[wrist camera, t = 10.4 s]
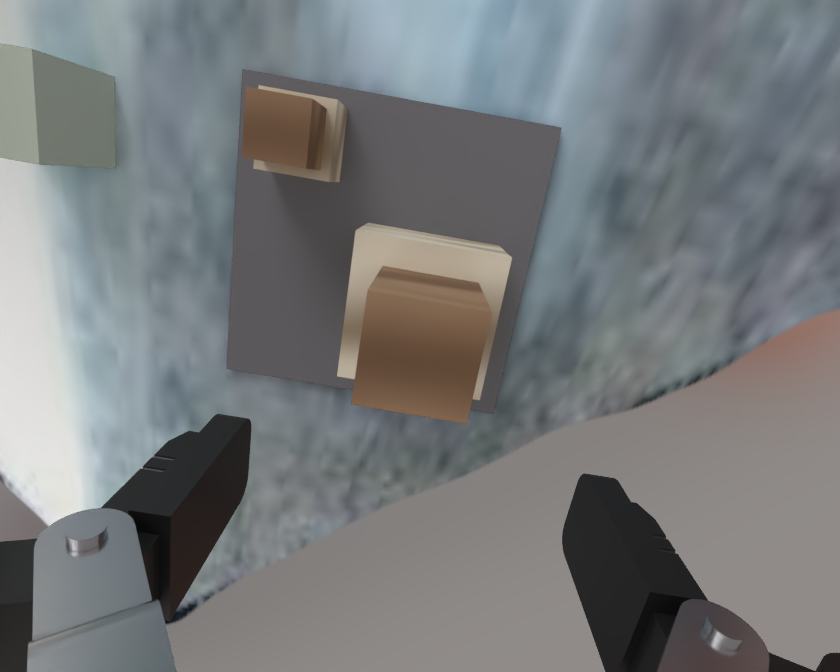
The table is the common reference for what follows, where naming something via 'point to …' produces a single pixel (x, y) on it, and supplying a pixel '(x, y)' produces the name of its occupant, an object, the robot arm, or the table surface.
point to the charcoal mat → (375, 222)
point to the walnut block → (421, 344)
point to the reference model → (294, 133)
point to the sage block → (55, 111)
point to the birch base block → (422, 256)
